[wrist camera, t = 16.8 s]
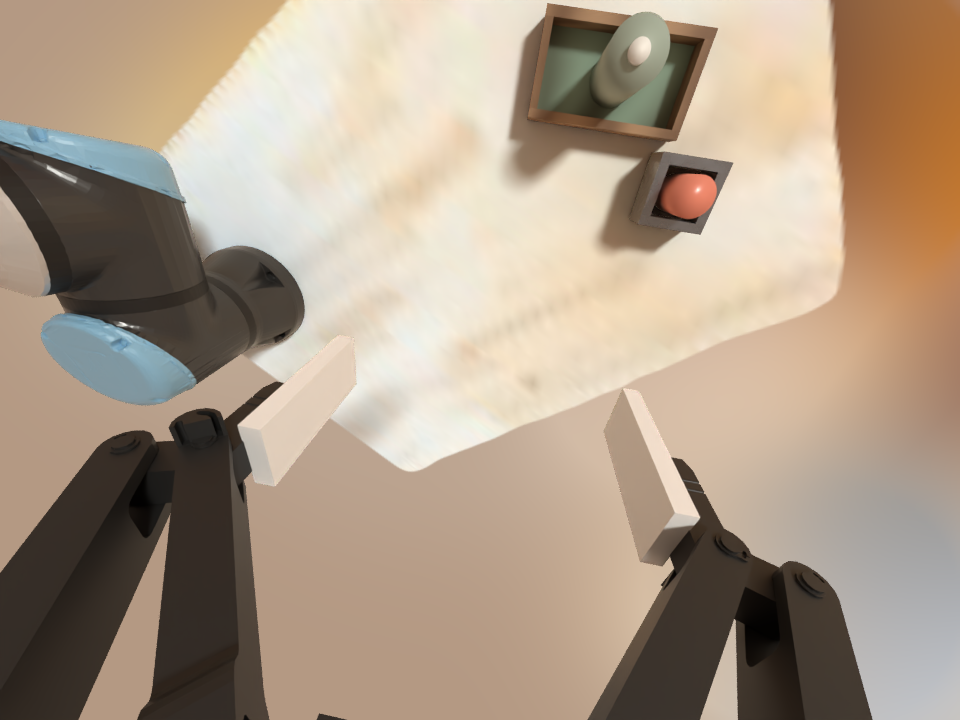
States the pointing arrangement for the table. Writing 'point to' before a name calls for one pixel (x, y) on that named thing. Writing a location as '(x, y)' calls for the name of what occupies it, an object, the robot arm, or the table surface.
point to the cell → (630, 59)
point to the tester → (654, 182)
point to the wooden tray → (576, 50)
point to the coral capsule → (686, 195)
